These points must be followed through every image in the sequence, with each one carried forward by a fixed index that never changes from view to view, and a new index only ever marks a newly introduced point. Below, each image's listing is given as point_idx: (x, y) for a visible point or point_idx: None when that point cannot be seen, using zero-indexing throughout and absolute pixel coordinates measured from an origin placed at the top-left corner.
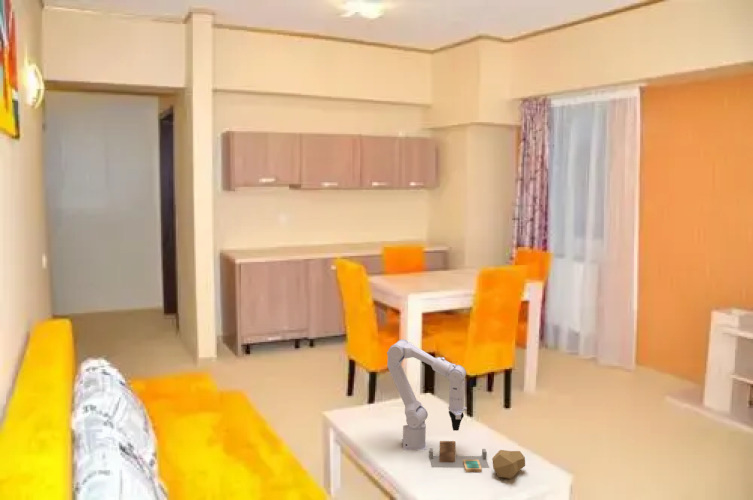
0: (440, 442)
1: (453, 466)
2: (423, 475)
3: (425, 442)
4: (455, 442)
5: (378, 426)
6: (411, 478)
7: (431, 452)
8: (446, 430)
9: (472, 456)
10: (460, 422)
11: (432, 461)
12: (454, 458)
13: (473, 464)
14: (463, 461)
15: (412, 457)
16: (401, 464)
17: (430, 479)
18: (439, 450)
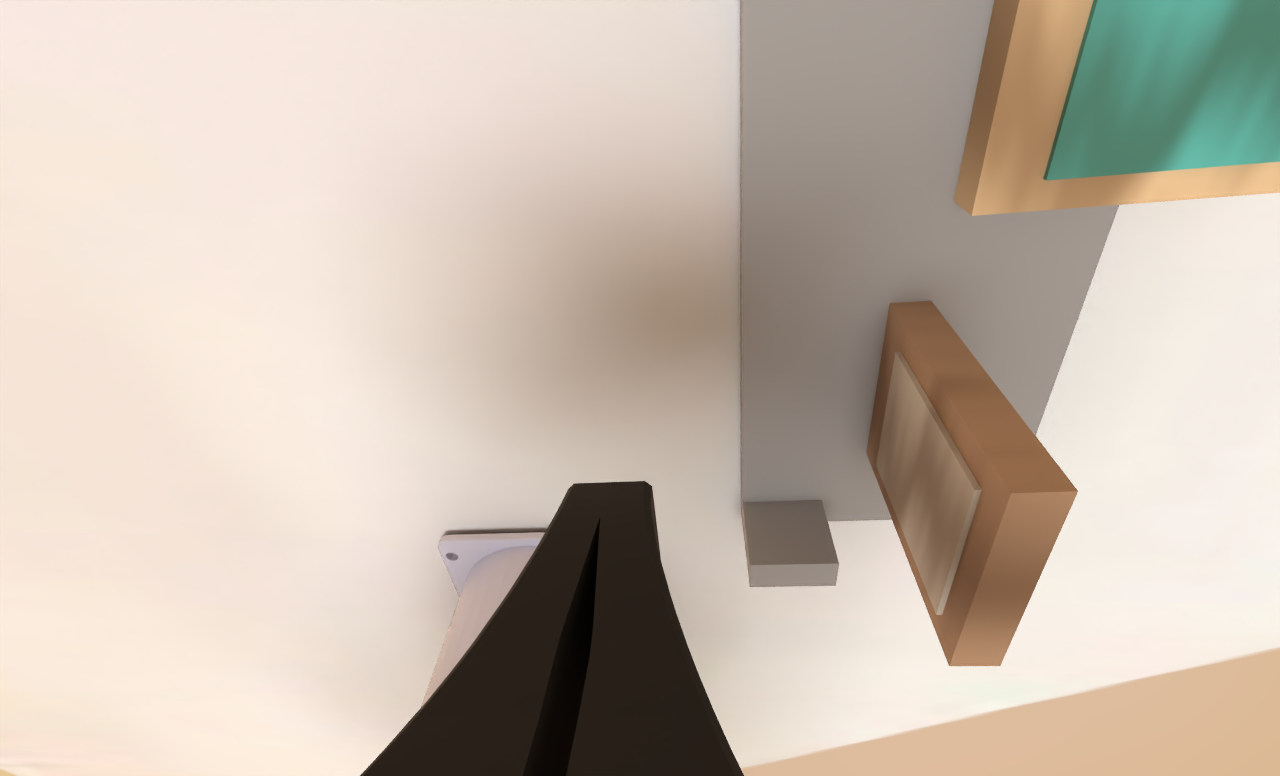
0: (999, 658)
1: (1050, 323)
2: (1121, 559)
3: (461, 542)
4: (1075, 491)
5: (285, 740)
6: (1142, 624)
7: (833, 566)
8: (19, 349)
9: (762, 30)
10: (693, 672)
11: (880, 505)
12: (949, 333)
13: (1232, 44)
14: (1037, 209)
15: (757, 611)
16: (879, 664)
17: (1228, 517)
18: (904, 544)
